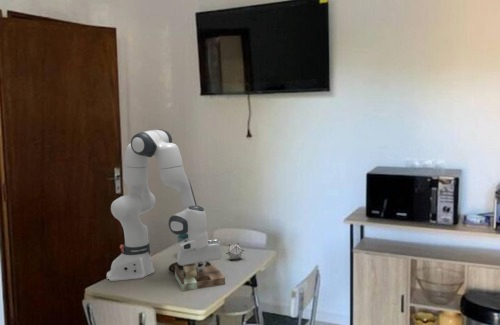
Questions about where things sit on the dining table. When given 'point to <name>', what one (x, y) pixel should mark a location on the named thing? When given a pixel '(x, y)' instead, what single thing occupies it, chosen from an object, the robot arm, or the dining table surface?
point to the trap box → (200, 278)
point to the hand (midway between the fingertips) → (200, 271)
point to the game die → (234, 251)
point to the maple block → (190, 270)
